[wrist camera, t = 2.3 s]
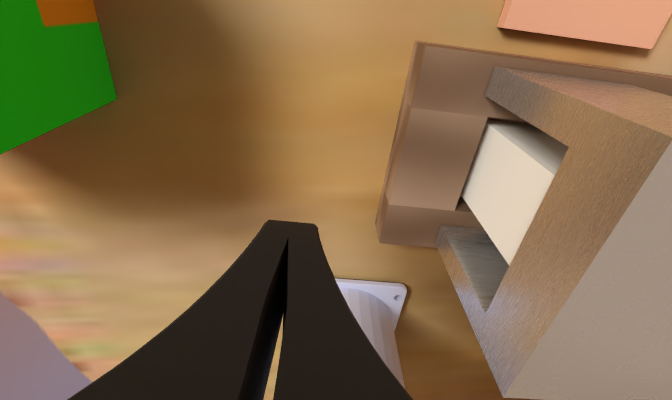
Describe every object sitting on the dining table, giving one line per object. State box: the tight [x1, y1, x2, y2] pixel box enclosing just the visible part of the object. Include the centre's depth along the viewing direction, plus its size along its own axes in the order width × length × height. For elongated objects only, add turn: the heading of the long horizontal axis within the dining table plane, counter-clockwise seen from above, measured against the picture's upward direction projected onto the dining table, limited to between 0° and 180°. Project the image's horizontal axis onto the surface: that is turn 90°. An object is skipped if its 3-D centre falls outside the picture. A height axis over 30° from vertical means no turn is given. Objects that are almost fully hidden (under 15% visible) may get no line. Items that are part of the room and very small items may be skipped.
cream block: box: [461, 120, 569, 266], centre depth 15 cm, size 4×4×7 cm
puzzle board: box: [375, 41, 672, 248], centre depth 18 cm, size 10×20×2 cm, turn 83°
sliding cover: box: [435, 67, 672, 400], centre depth 13 cm, size 9×6×8 cm, turn 173°
